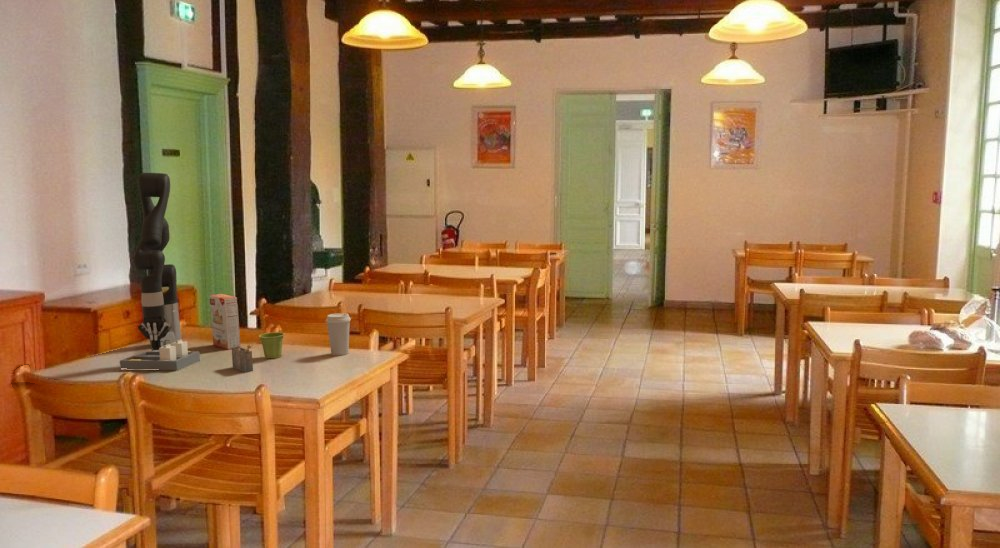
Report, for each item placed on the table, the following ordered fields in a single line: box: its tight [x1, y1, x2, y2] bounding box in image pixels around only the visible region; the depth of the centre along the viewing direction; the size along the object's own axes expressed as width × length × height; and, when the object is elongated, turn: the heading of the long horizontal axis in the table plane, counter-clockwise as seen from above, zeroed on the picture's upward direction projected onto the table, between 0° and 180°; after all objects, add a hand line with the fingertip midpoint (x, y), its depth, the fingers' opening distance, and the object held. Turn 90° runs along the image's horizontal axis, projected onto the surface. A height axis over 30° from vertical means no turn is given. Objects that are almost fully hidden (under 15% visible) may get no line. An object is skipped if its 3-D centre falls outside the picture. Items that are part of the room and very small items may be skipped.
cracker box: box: [209, 293, 242, 351], centre depth 333 cm, size 14×6×21 cm, turn 42°
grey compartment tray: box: [119, 350, 201, 371], centre depth 304 cm, size 16×22×4 cm
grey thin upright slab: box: [231, 344, 254, 373], centre depth 294 cm, size 11×3×10 cm, turn 41°
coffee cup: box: [325, 312, 352, 357], centre depth 315 cm, size 10×10×15 cm
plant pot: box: [258, 331, 285, 360], centre depth 312 cm, size 9×9×9 cm
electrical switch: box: [149, 332, 176, 351], centre depth 320 cm, size 9×5×9 cm, turn 134°
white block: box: [171, 338, 189, 355], centre depth 306 cm, size 4×4×7 cm
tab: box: [159, 344, 177, 360], centre depth 298 cm, size 4×4×7 cm
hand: (156, 349), depth 308 cm, fingers closed
